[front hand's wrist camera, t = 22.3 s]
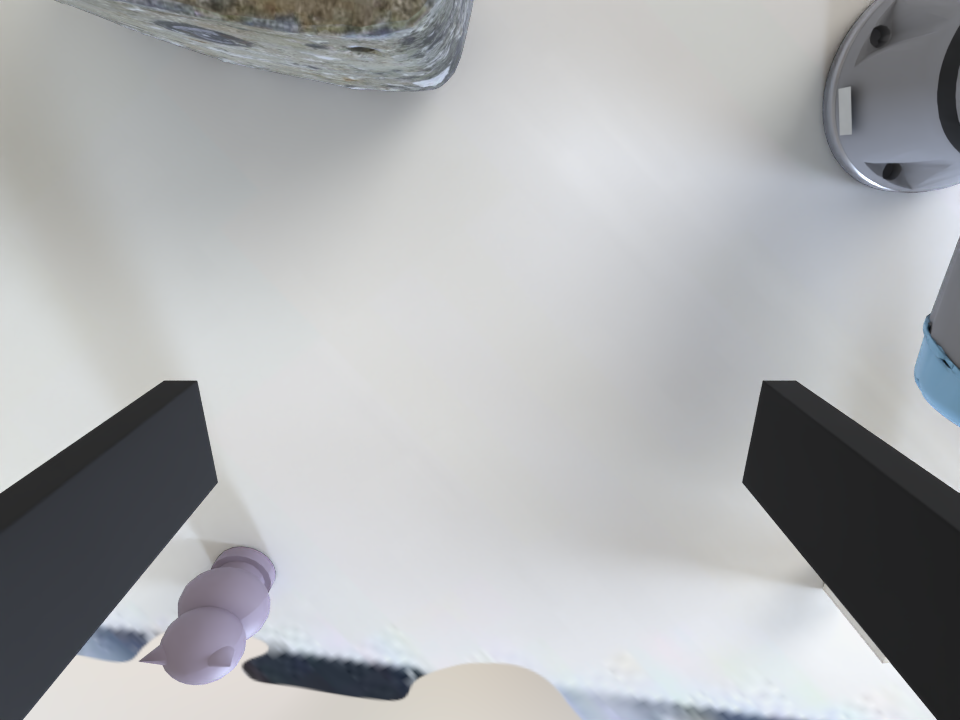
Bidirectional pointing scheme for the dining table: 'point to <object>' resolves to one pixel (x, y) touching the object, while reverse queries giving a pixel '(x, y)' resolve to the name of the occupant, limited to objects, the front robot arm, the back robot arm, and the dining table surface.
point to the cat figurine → (217, 618)
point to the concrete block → (311, 36)
